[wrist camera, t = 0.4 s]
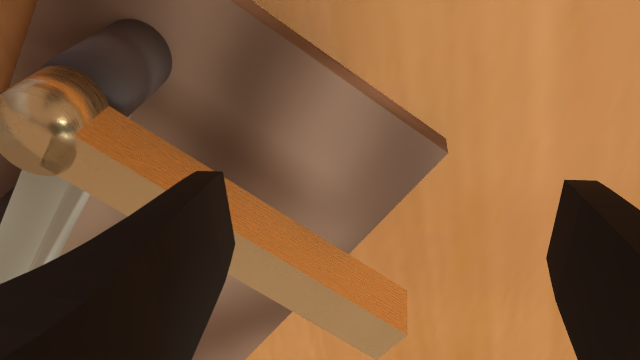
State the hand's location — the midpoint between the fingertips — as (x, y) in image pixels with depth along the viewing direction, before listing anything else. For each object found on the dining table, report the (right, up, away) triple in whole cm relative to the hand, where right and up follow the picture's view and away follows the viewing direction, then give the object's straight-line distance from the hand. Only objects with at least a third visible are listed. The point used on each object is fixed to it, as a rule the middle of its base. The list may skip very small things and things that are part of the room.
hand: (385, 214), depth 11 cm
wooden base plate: (-8, 0, +14) cm, 16 cm away
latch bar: (-5, 0, +6) cm, 7 cm away
